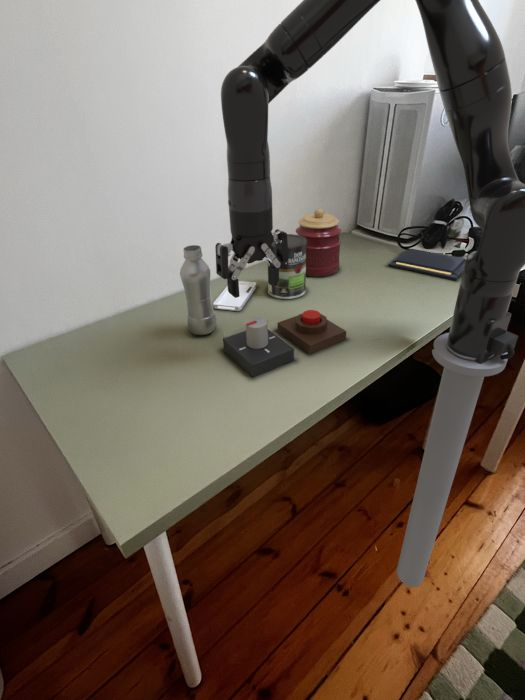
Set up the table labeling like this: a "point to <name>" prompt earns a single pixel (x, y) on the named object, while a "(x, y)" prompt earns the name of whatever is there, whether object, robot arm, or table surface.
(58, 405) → the table surface
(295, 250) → the coffee can
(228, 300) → the phone case
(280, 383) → the table surface
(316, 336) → the power button base
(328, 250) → the kitchen canister
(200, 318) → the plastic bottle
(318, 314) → the power button
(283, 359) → the dial console
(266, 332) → the brew dial
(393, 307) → the table surface
